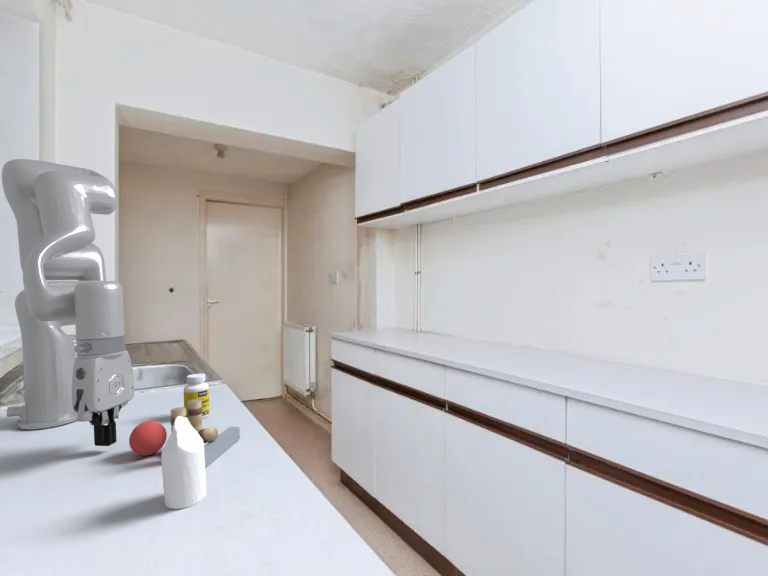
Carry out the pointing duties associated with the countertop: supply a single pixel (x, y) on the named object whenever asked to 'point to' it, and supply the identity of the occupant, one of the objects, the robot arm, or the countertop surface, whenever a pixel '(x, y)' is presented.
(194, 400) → the pin
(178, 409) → the pin
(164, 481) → the white pointed column
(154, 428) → the ball
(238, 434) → the stopper wall
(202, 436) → the pin front
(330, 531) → the countertop surface
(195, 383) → the supplement bottle
